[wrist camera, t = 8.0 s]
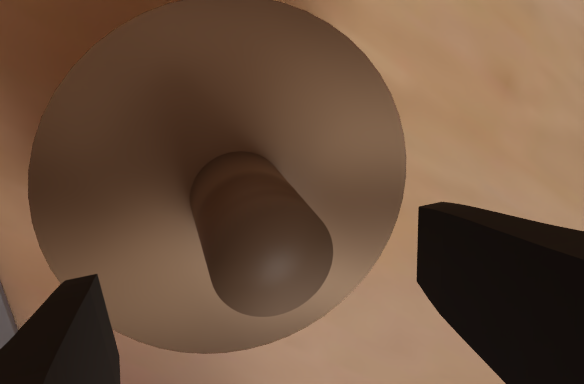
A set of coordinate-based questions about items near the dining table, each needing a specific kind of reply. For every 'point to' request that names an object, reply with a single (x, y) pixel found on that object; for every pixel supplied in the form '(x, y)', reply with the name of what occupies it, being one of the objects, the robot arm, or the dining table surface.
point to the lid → (218, 173)
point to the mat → (6, 320)
